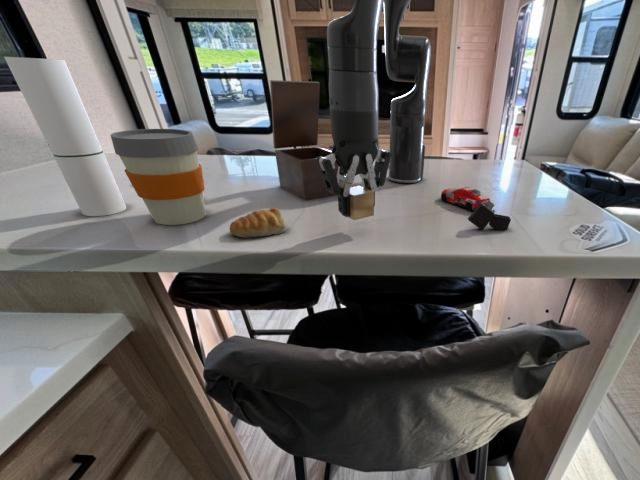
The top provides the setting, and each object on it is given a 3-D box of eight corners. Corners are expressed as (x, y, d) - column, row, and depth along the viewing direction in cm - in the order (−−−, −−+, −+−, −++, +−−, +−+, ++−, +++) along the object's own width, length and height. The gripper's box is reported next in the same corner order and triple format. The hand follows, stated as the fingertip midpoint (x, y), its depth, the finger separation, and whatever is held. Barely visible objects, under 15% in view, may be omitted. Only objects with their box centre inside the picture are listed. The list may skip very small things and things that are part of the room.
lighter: (493, 237, 71) (511, 217, 69) (497, 241, 69) (515, 221, 67) (466, 217, 68) (483, 196, 66) (469, 221, 66) (487, 199, 64)
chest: (347, 192, 85) (345, 155, 80) (305, 200, 78) (300, 160, 74) (319, 180, 93) (316, 146, 88) (280, 186, 87) (274, 150, 82)
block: (360, 208, 64) (359, 185, 62) (374, 215, 62) (374, 191, 59) (340, 213, 62) (339, 189, 59) (354, 220, 59) (353, 195, 57)
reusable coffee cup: (149, 209, 69) (118, 128, 61) (216, 204, 74) (196, 128, 65) (137, 232, 60) (98, 140, 51) (215, 224, 64) (191, 138, 56)
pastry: (237, 243, 58) (232, 222, 55) (226, 231, 62) (221, 211, 60) (289, 232, 63) (286, 212, 61) (275, 221, 67) (272, 202, 65)
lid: (319, 82, 78) (309, 75, 80) (271, 81, 71) (261, 73, 74) (317, 145, 88) (307, 136, 90) (275, 148, 81) (265, 139, 84)
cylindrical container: (122, 202, 72) (61, 59, 58) (130, 211, 68) (67, 60, 54) (79, 208, 68) (3, 56, 54) (85, 218, 64) (4, 56, 50)
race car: (436, 199, 84) (437, 183, 82) (451, 196, 87) (453, 180, 84) (476, 214, 75) (480, 196, 73) (491, 210, 78) (495, 193, 76)
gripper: (326, 110, 46) (334, 228, 55) (404, 107, 54) (399, 211, 63) (300, 105, 50) (312, 214, 60) (376, 103, 58) (375, 200, 68)
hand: (357, 212), depth 62 cm, fingers closed on block, 4 cm apart
